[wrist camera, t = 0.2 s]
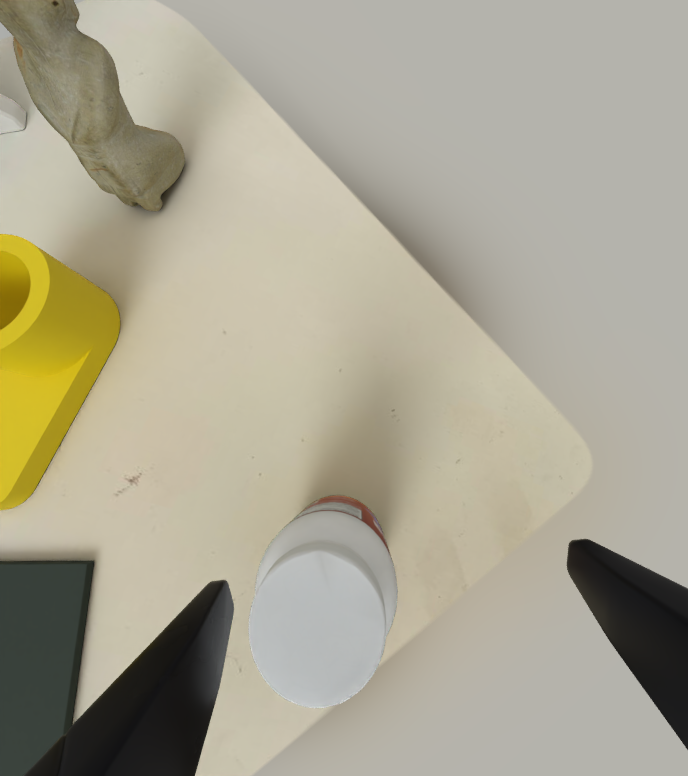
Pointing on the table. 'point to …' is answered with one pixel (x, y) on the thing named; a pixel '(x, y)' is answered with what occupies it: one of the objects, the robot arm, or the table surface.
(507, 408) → the table surface
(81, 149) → the sculpture
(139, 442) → the table surface
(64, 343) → the crank
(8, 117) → the white mech figurine
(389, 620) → the pill bottle
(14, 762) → the mat
